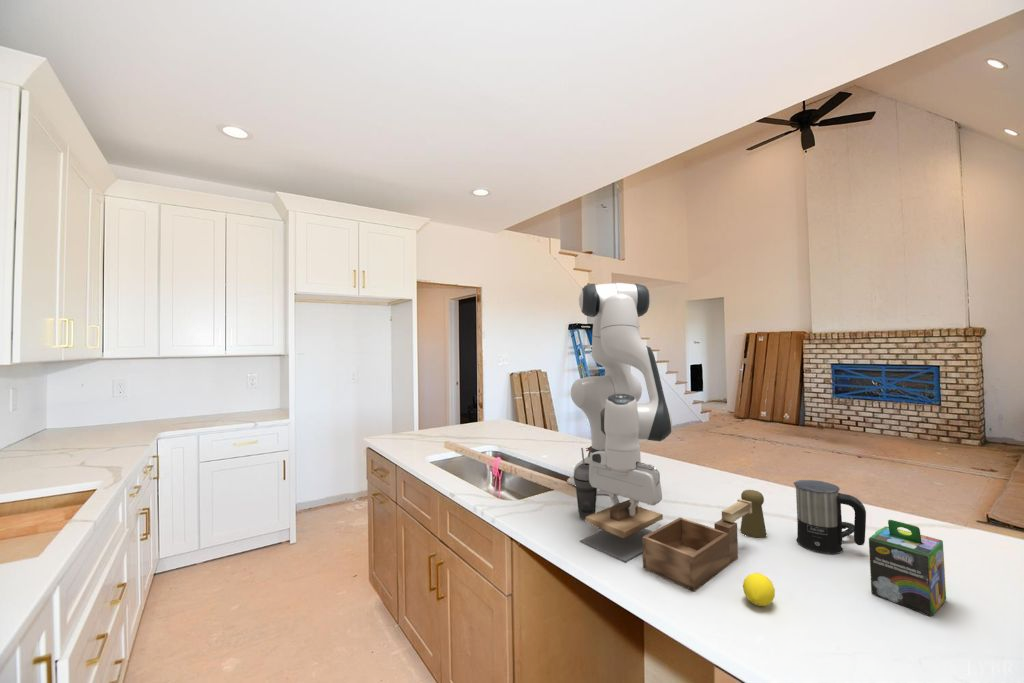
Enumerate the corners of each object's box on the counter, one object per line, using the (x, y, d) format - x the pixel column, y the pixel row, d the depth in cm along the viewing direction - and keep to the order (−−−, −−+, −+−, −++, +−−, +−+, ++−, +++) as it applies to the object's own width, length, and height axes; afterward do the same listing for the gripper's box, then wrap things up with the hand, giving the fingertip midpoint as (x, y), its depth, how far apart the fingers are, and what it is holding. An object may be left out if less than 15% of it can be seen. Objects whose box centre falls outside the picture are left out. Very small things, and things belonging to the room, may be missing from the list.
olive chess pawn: (770, 539, 109) (769, 495, 109) (744, 537, 110) (743, 494, 110) (761, 528, 115) (760, 487, 115) (737, 527, 116) (736, 486, 116)
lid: (585, 525, 110) (585, 505, 110) (623, 509, 120) (623, 491, 120) (625, 541, 100) (624, 519, 100) (662, 522, 110) (662, 503, 110)
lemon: (772, 618, 79) (771, 591, 79) (740, 607, 83) (738, 581, 82) (778, 595, 85) (777, 570, 84) (747, 586, 88) (746, 561, 87)
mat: (580, 541, 110) (580, 540, 110) (623, 521, 121) (623, 520, 121) (625, 562, 99) (625, 561, 99) (668, 538, 111) (668, 537, 110)
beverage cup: (589, 524, 120) (587, 453, 120) (569, 517, 126) (567, 448, 126) (604, 517, 125) (603, 448, 125) (585, 510, 130) (583, 444, 130)
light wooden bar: (720, 520, 101) (720, 509, 101) (739, 509, 108) (739, 498, 108) (733, 524, 99) (733, 513, 99) (752, 512, 105) (751, 502, 105)
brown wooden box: (643, 568, 97) (642, 531, 97) (689, 540, 109) (688, 508, 109) (694, 591, 87) (693, 551, 87) (737, 558, 100) (737, 523, 100)
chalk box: (947, 600, 82) (945, 523, 82) (932, 618, 77) (930, 536, 77) (885, 578, 90) (884, 508, 90) (868, 593, 85) (867, 519, 85)
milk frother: (800, 551, 102) (799, 489, 102) (785, 524, 117) (784, 470, 117) (874, 561, 97) (873, 495, 97) (849, 531, 112) (847, 474, 112)
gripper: (666, 464, 104) (668, 521, 104) (599, 449, 120) (601, 498, 120) (651, 469, 100) (653, 528, 100) (584, 453, 116) (586, 504, 116)
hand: (624, 512), depth 110 cm, fingers closed on lid, 3 cm apart
